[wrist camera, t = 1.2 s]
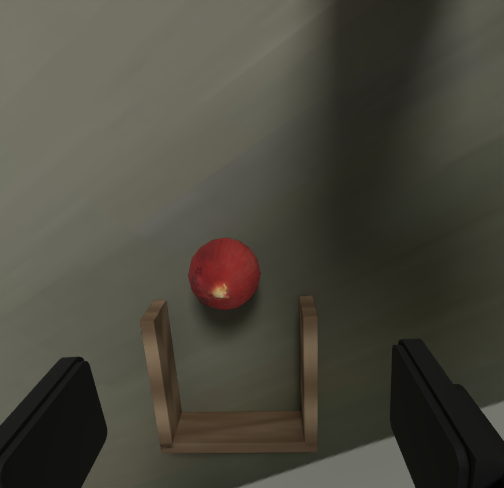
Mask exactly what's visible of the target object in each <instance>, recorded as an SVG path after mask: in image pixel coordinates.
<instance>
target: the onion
mask: <svg viewBox="0 0 504 488" xmlns="http://www.w3.org/2000/svg"><path fill="white" fill-rule="evenodd" d="M260 274H261V273H260V269H259V265H258V261H257V258H256V256H255V255H254V254H253V252H252V251H251V249H250V248H249V247H247V246H246V245H244V244H243V243H241V242H240V241H237V240H233V239H229V238H221V239H216V240H212V241H210V242H209V243H207V244H205V245H204V246H202V247H201V248H200V249H199V250H198V251H197V252H196V254H195V255H194V256H193V258H192V260H191V264H190V269H189V274H188V276H189V281H190V285H191V289H192V291H193V293H194V294H195V295H196V297H197V298H198V299H199V300H200V302H201V303H203V304H205V305H208V306H210V307H212V308H216V309H223V310H228V309H233V308H237V307H239V306H241V305H242V304H244V303H245V302H247V301H248V300H249V299H250V298H251V296H252V295H253V294H254V293H255V291H256V290H257V288H258V284H259V279H260Z"/></svg>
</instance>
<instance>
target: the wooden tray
mask: <svg viewBox="0 0 504 488" xmlns="http://www.w3.org/2000/svg"><path fill="white" fill-rule="evenodd" d="M299 314H300V375H301V411H267V412H198V413H182V411H181V404H180V397H179V390H178V382H177V375H176V368H175V361H174V353H173V346H172V339H171V332H170V325H169V317H168V310H167V303H166V300H154V301H153V302H152V304H151V305H150V307H149V308H148V310H147V311H146V313H145V314H144V316H143V317H142V319H141V320H140V325H141V331H142V337H143V343H144V349H145V355H146V361H147V367H148V373H149V379H150V385H151V391H152V397H153V403H154V409H155V415H156V421H157V427H158V433H159V439H160V445H161V451H162V453H259V452H318V316H317V312H316V308H315V305H314V301H313V297H312V295H308V296H299Z"/></svg>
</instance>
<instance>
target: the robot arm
mask: <svg viewBox="0 0 504 488" xmlns="http://www.w3.org/2000/svg"><path fill="white" fill-rule="evenodd" d="M390 422H391V427H392V430H393V433H394V435H395V438H396V440H397V443H398V445H399V448H400V450H401V453H402V455H403V457H404V460H405V463H406V465H407V468H408V470H409V472H410V475H411V478H412V480H413V483H414V485H415V488H504V441H503V440H502V438H501V437H500V436H499V434H498V433H497V431H496V430H495V429H494V427H493V426H492V425H491V423H490V422H489V420H488V419H487V418H486V416H485V415H484V414H483V413H482V411H481V410H480V408H479V407H478V406H477V404H476V403H475V402H474V400H473V399H472V398H471V396H470V395H469V394H468V392H467V391H466V390H465V389H464V387H463V386H461V385H459V384H453V383H452V382H451V380H450V379H449V378H448V376H447V375H446V373H445V372H444V371H443V369H442V368H441V366H440V365H439V364H438V362H437V361H436V359H435V358H434V356H433V355H432V354H431V352H430V351H429V349H428V348H427V347H426V345H425V344H424V342H423V341H422V340H421V339H402V340H399V343H398V345H393V348H392V374H391V404H390ZM106 437H107V426H106V422H105V419H104V415H103V412H102V408H101V404H100V401H99V397H98V394H97V390H96V386H95V383H94V379H93V376H92V372H91V368H90V365H89V363H88V362H87V361H84V359H83V358H82V357H66V358H61V359H60V360H59V361H58V362H57V363H56V364H55V365H54V366H53V367H52V368H51V369H50V371H49V372H48V373H47V374H46V375H45V376H44V377H43V378H42V380H41V381H40V382H39V383H38V384H37V385H36V386H35V387H34V388H33V390H32V391H31V392H30V393H29V394H28V395H27V396H26V397H25V399H24V400H23V401H22V402H21V403H20V404H19V405H18V406H17V407H16V409H15V410H14V411H13V412H12V413H11V414H10V415H9V416H8V418H7V419H6V420H5V421H4V422H3V423H2V424H1V425H0V488H81V487H82V485H83V483H84V481H85V479H86V477H87V475H88V474H89V472H90V470H91V468H92V466H93V464H94V462H95V460H96V458H97V456H98V454H99V452H100V450H101V448H102V447H103V445H104V443H105V440H106Z"/></svg>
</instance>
